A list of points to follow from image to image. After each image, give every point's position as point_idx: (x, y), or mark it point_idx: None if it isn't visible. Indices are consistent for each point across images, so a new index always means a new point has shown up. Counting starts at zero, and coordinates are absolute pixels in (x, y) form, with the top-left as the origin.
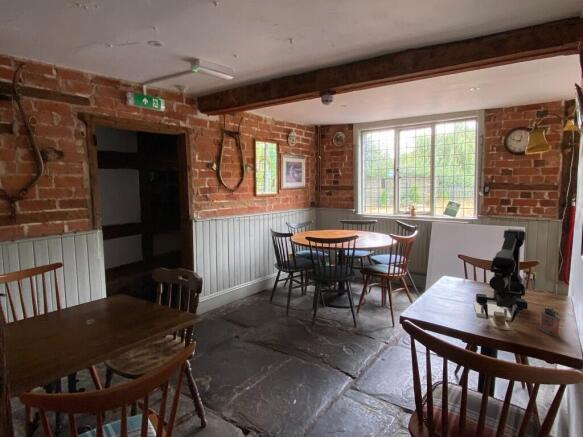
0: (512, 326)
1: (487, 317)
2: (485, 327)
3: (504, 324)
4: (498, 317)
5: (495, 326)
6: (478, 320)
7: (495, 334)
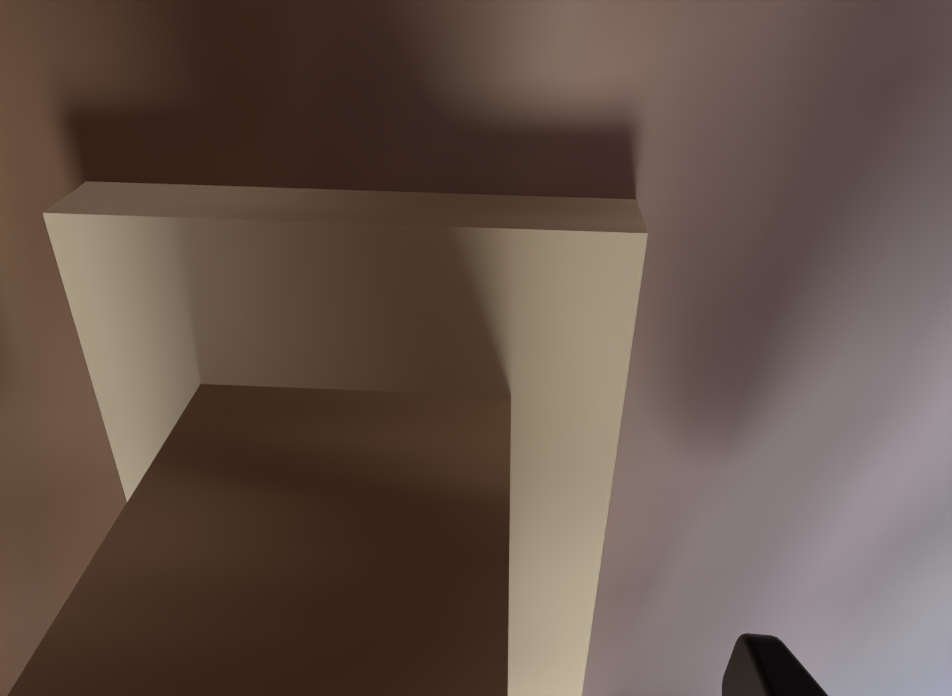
0: (18, 490)
1: (776, 675)
2: (935, 140)
3: (204, 407)
4: (392, 630)
5: (555, 226)
6: (887, 628)
7: None
